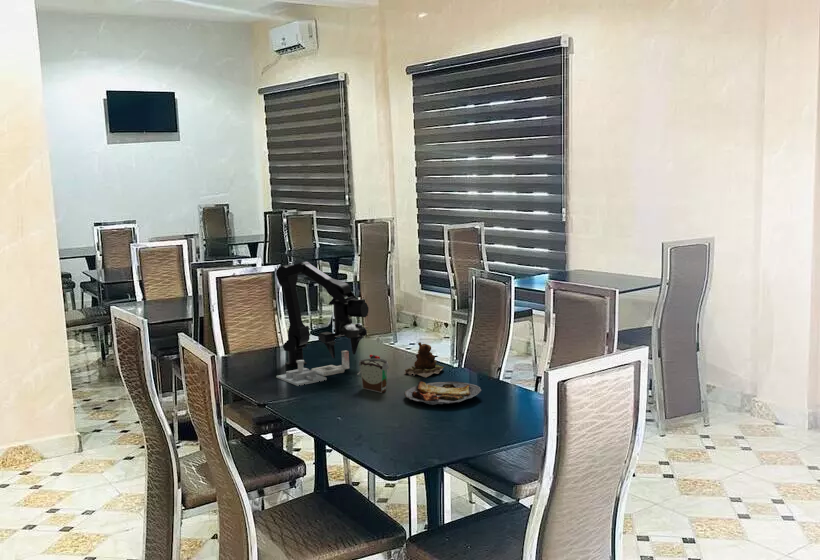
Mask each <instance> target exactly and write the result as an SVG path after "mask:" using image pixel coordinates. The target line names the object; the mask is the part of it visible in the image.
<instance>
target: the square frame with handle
mask: <svg viewBox="0 0 820 560" xmlns="http://www.w3.org/2000/svg"><path fill="white" fill-rule="evenodd" d="M340 352H341V364H339V365H334V364H329V365H324V366H319V367H318V366H317V367H313V368H311V369H310V370H313V371H316V374H317V375H320V376H323V377H326V376H333V375H336V374H337V375H338V374H343V373H345V370H349V369H350V353H349V350H346V349H345V350H341V351H340Z"/></svg>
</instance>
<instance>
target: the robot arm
mask: <svg viewBox="0 0 820 560" xmlns="http://www.w3.org/2000/svg"><path fill="white" fill-rule="evenodd" d="M301 274H303V275H305V277H308V278H309V279H310V280H312V281H314V282H315V283H317V285H320V286H321V287H322V288H323V289H325V291H326V292H327V294H328V295H329V296H330V297H332V298H331V300H330V301H329V302H328V305H330V306H333V313H334V314H333V316H334V318H332V322H333V323H334V329H333V332H329V331H324V332H319V333H318V336H317V337H318V339H317V340H318V341H319V342H321V343H323V344H324V345H325V346H326V348H327V350H328V352H329V354H330V356H331V357H332V359H335V358H336V357H335V356H336V351H335V350H336V349H335V345H336V341H335V339H338V338H342V337H345V338H347V339H350V346H351V352H352V355H354V356H355V355H356V353H357V349H358V346H359V343H360V341H361V340H362V339H363V338H365V336H368V331H367V329H366V327H363V324H362V323H360V322H359V323H356V324H354V323H353V320H352V318H367V316H368V314H369V305H368V303H367V302H366V299H365V298H363V299H362V298H361V299H358V297H356V295H355V294H354V292H353V291H352V289H351V286H350V285H349V283H347V282H344V281H342V280H341V279H335V278H332V277H331V276H329V275H328V274H326V273H325V272H323V271H322V270H320V269H318V268H317V267H316V266H314V265H312V264H311V263H310V262H309V261H306V260H305V261H302V262H300V261H299V263H296V264H286V265H282V266H281V265H280V266H279V267H277V269H276V270H275V275H276V276H275V277H276V279H277V282H278V285H280V287H282V290H283V294H284V300H285V305H286V311H287V315H288V316H287V317H288V322H289V327H288V329H287V330H288V331H287V340H286V341H285V343H283V345H282V348H283V351H284V352H287V355H288V361H287V362H285V363H284V364H285V365H287V366H290V367H298V363H297V362H296V361H297V360H304V350H303V349H304V348H306V347H307V345H308V343H309V341H310V337H311V334H310V328H309V325H305V324H304V323H303V319H302V314H301V308H300V303H299V297H298V291H297V283H298V278H299V277H298V276H299V275H301ZM350 317H351V318H350ZM307 364H308V363H307V362H306V361H304V362H303V366H304V365H307Z"/></svg>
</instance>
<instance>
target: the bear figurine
mask: <svg viewBox="0 0 820 560" xmlns="http://www.w3.org/2000/svg"><path fill="white" fill-rule="evenodd" d="M417 345H418V346H419V347H418V351H417V353H416V355H415V357H416V361H415V362H414V365H412V366H411V367H409V368H406V369H405V370H404V373H403V375H406V374H407V375H409V376H414V377H415V375H417V376H420V377H423V378H428V377H430V376H432V375H433V374H437V375H438V374H440V372H441V371H442V370H443V369H444V368H445V367H444V366H442V365H440V364H437V360H436V356H435V355H434V354H433V352H431V350H432V346H431V345H430V344H428V343H421V342H418V344H417ZM412 374H413V375H412Z"/></svg>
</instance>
